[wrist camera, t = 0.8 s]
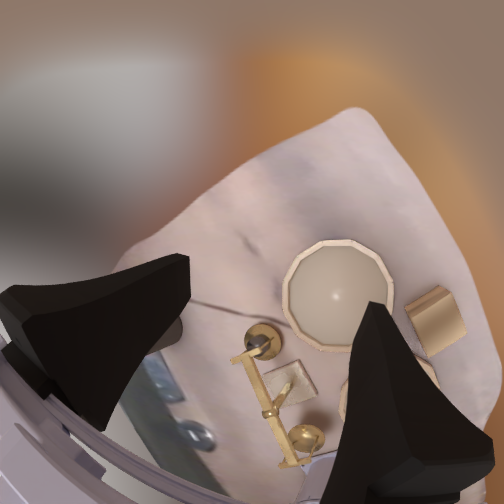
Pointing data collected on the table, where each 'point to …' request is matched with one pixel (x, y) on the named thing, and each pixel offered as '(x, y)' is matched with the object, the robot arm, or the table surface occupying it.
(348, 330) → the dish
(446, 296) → the maple block
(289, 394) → the balance scale
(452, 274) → the table surface
